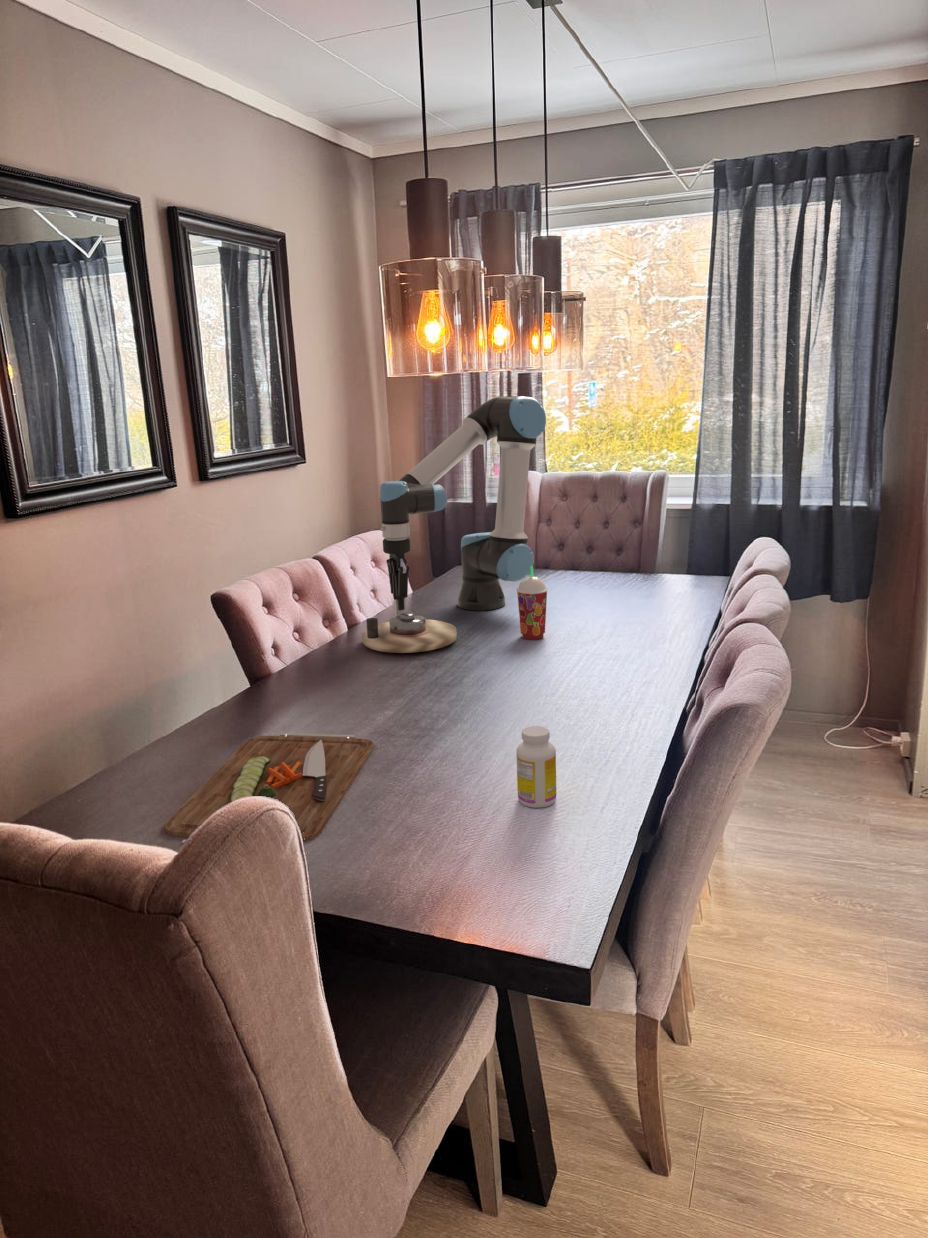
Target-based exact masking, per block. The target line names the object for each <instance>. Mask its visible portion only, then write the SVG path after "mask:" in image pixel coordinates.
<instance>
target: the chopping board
mask: <svg viewBox="0 0 928 1238" xmlns="http://www.w3.org/2000/svg"><path fill="white" fill-rule="evenodd" d="M374 748H375V744H374V742H373V741H372V740H370V739H367V738H357V736H356V734H355V735H354V734H332V733H331V734H328V733H327V734H325V733H297V732H296V733H295V732H293V733H291V732H280V734H279V735H258V736H254V737H251V738H249V739H247V740H246V741H244V742H243V744H242V745H240V747H238V748H237V750H236V751H235V752H234V753H233V754H232V755H230V757H229V758H228V759H226V760H225V762H224V763H222V765H221V766H220V767H219V768H218V769H216V771H215V772H214V773H213V774H211V776H210V777H209V778H208V779H207V780H206V781H205V782H203V784H202V785H201V786H200V787H199V788H198V789H197V790H195V792H194V793H193V794H192V795H191V796H190V797H189V798H188V799H187V800H186V801H185V802H184V803H183V804H182V805H181V806H180V807H179V808H178V809H177V810H176V811H175V812H174V813H173V814H172V815H171V816H170V817H169V818H168V819H167V820H166V822H165V823H164V824H163V825H164V832H165V834H168V835H169V836H171V837H172V836H173V837H185V838H190V837H189V836H190V834H191V833H192V832H193V831H194V830H195V829H196V828H197V827H198V826H200V825H201V824H202V823H203V822H204V821H205V820H206V819H207V818H208V817H209V816H210V815H211V814H212V813H213V812H215V811H216V810H218V809H219V808H221V807H222V806H224V805H226V804H228V803H230V802H232V801H234V800H236V799H237V798H240V797H244V796H266V797H271V798H274V799H278V800H279V801H281V802H282V803H284V804H285V805H287V806H288V807H289V809H290V810H291V811H292V812H293V813H294V815H295V819H296V821H297V823H298V826H299V827H300V830H301V833H302V838H303V842H302V843H304V842H307V841H310V840H313V839H316V838H317V837H318V836H319V835H320V834H322V832H323V830H324V828H325V827H326V825H327V824H328V822H329V820H331V817H332V816H333V814H334V812H335V811H336V809H337V808H338V806H339V804H340V803H341V802H342V800H343V798H344V797H345V795H346V794H347V792H348V791H349V789H350V787H352V784H353V783H354V781H355V780H356V778H357V776H358V775H359V774H360V772H361V770H362V768H364V765H365V764H366V762H367V761H368V759H369V758H370V756H371V754H372V753H373V752H374ZM214 809H215V810H214ZM303 832H304V833H303ZM185 838H184V839H182V841H181V844H182V845H184V844H183V843H184V842H185V841H186V840H187V839H185ZM304 838H305V840H304Z"/></svg>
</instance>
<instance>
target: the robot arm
mask: <svg viewBox="0 0 928 1238" xmlns="http://www.w3.org/2000/svg"><path fill="white" fill-rule="evenodd" d="M546 424H547V415H546V411H545V408H544V407H543V406H542V404H541V403H540V402H539V400H538V399H535V398H534V397H530V396H524V395H518V396H501V395H500V396H496V397H492V398H490V399H488V400H487V401H486V402H483V403H482V404H481V405H480V406H478V407H477V408H475V409H474V410H473V411H472V412H471V413H469V414H468V415H467V416H466V417H464V419H463V420H462V425H461V426H460V427H458V429H456V430H455V431H454V432H453V433H451V435H449V436H448V437H447V438H446V439H445V440H443V442H441V443H440V444H439V445H438V446H437V447H435V448H434V449H433V450H432V451H431V452H429V454H428V455H427V456H425V457H424V458H423V459H421V461H420V462H419V463H417V464H416V465H415V466H414V467H413V468H411V469H410V470H409V471H408V472H407V473H406V474H405V475H404V476H403V477H401V478H400V479H399V480H390V481H384V482H382V483H381V484H380V486H379V488H380V489H379V501H380V503H379V505H380V514H381V516H380V517H381V527H380V531H381V532H382V537H383V539H382V551H383V552H384V553H385V554H388V556H389V558H388V559H386V561H385V562H386V566H387V570H388V578H389V580H388V581H389V585H390V593H391V595H392V597H393V604H394V605H393V606H394V617H397V616H400V614H402V613H406V600H405V599H406V598H408V593H409V591H408V590H409V589H408V587H409V571H410V567H409V565H407V559H406V557H405V554H406V553H409V552H410V551H411V539H410V538H409V537H410V536H411V533H410V532H411V531H410V530H411V529H410V528H411V527H410V516H411V515H417V514H424V513H425V514H426V513H435V512H439V511H442V510H444V509H445V508H446V506H447V503H448V499H447V498H448V497H447V492H446V489H445V487H444V486H442V485H441V484H438V483H437V482H438V481H439V480H440V479H441V478H443V476H445V475H446V474H447V473H448V472H449V471H450V470H451V469H452V468H454V467H455V466H456V465H457V464H458V463H459V462H461V460H463V459H464V458H465V457H467V456H468V454H470V452H472V451H473V450H475V448H476V447H478V445H485V444H486V443H487V442H489V441H490V440H492V439H494V438H496V443H497V444H498V446H499V447H500V448H501V451H500V463H499V472H498V473H499V475H498V478H499V479H498V488H497V500H496V511H495V512H496V513H495V524H494V529H493V530H492V531H488V532H486V531H485V532H477V533H471V534H466V535H463V536H462V538H461V539H460V540H461V541H460V553H461V555H460V557H461V578H462V581H461V586H460V589H459V591H458V592H459V593H458V597H457V606H458V608H460V609H463V610H467V611H468V610H469V611H489V610H490V611H491V610H496V609H500V608H502V607H504V606H505V605H506V597H505V594H504V591H503V590H504V589H503V587H502V585H501V583H500V580H501V581H504V582H518V581H522V580H523V579H525V578H526V576H528V575H529V573H531V566H533V565H534V562H535V560H534V559H535V557H534V551H532V549H531V547H530V546H528V543H529V540H528V539H529V537H528V535H527V534H526V533H525V531H524V529H525V517H526V516H525V514H526V505H527V504H526V503H527V492H528V481H529V470H530V458H531V451H532V449H534V447H536V446H537V439H538V438H539V437H540V436H541V435H542V432H544V431H545V429H546ZM436 483H437V484H436ZM533 567H534V566H533Z"/></svg>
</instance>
